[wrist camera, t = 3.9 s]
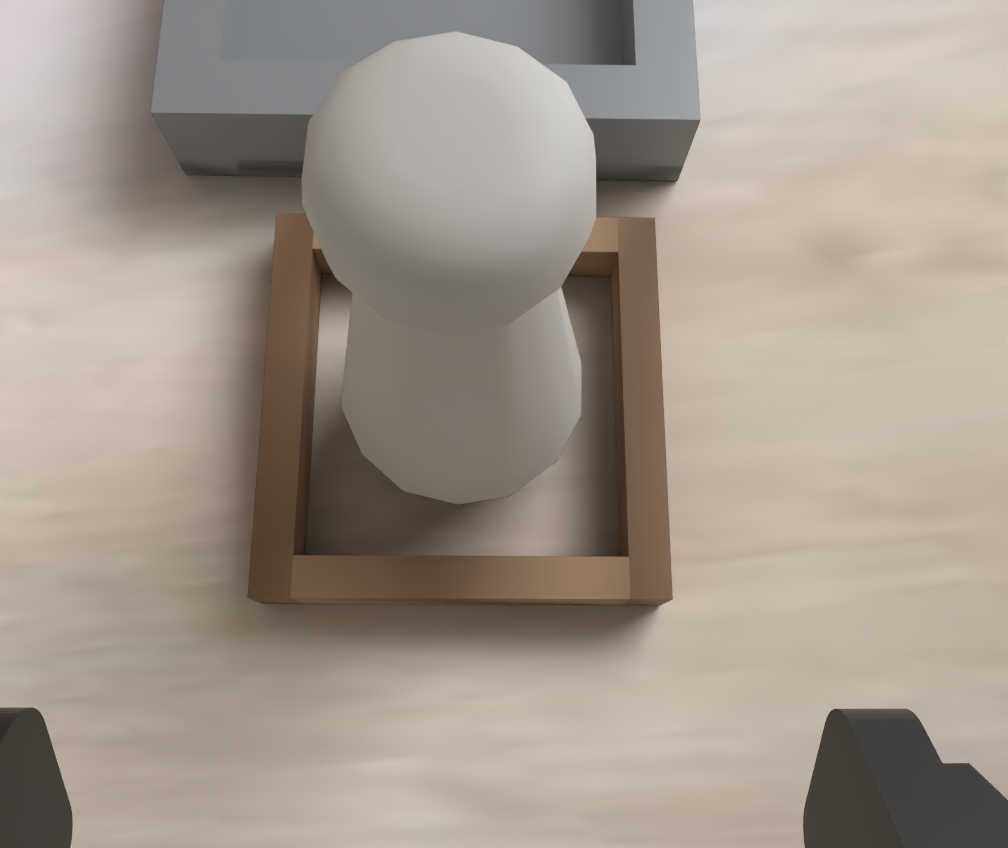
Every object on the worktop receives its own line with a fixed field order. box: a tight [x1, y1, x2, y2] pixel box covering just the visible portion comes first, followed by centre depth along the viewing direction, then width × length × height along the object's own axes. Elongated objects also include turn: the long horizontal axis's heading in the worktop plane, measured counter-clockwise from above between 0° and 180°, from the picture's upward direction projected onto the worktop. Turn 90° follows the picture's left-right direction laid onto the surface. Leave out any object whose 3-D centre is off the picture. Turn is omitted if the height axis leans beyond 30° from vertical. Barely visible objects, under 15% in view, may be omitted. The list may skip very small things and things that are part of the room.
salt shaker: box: [302, 31, 596, 505], centre depth 19 cm, size 6×6×13 cm
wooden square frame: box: [248, 214, 673, 605], centre depth 24 cm, size 10×10×2 cm
